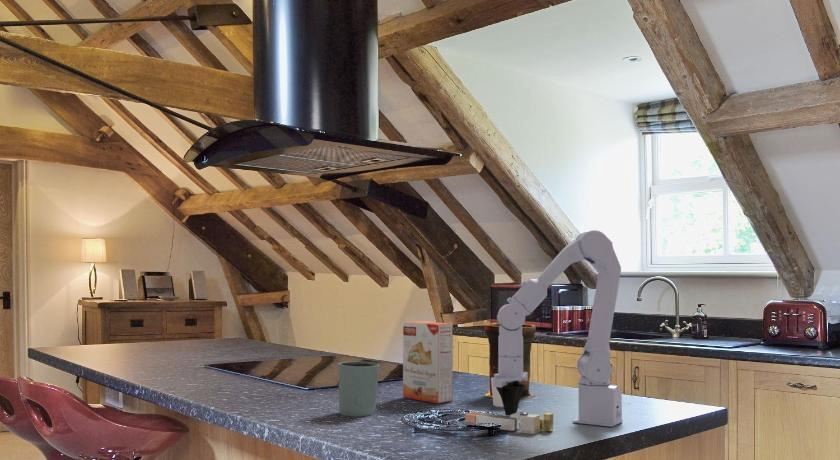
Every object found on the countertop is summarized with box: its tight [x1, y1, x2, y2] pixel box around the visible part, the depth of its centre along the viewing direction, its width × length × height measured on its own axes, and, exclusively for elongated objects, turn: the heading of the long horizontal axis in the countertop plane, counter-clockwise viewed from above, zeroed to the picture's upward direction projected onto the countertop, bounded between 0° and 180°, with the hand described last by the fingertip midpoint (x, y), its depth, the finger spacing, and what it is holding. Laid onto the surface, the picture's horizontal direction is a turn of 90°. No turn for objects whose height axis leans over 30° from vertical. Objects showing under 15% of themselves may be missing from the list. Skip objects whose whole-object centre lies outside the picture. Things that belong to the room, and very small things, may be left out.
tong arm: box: [469, 411, 520, 430], centre depth 179 cm, size 12×1×2 cm, turn 58°
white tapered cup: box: [491, 377, 504, 408], centre depth 209 cm, size 7×7×7 cm
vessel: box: [483, 322, 537, 400], centre depth 226 cm, size 14×14×20 cm
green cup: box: [337, 361, 380, 417], centre depth 195 cm, size 10×10×12 cm
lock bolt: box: [540, 412, 554, 432], centre depth 175 cm, size 5×2×4 cm, turn 58°
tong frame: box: [464, 411, 541, 435], centre depth 176 cm, size 16×4×4 cm, turn 58°
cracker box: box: [402, 320, 454, 405], centre depth 217 cm, size 14×6×21 cm, turn 43°
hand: (510, 415), depth 185 cm, fingers closed
